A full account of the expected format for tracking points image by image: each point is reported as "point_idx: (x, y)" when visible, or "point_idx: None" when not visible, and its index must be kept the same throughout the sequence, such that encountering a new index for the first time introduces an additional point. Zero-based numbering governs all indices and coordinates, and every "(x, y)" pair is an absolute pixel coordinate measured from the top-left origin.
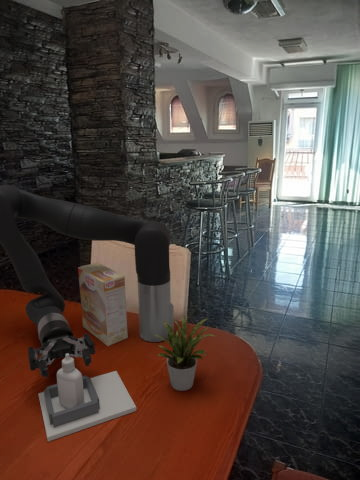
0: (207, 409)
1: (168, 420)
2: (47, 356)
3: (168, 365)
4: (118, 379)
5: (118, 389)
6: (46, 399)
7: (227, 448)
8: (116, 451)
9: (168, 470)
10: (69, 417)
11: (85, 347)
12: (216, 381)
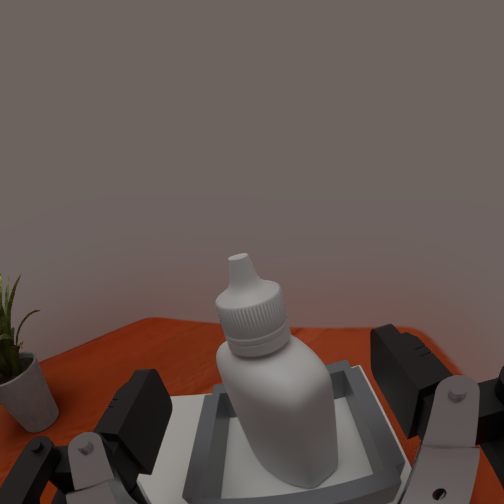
0: (75, 368)
1: (125, 372)
2: (418, 455)
3: (28, 369)
4: None
5: None
6: (381, 417)
7: (118, 331)
8: None
9: (186, 324)
10: None
11: (83, 438)
12: None
